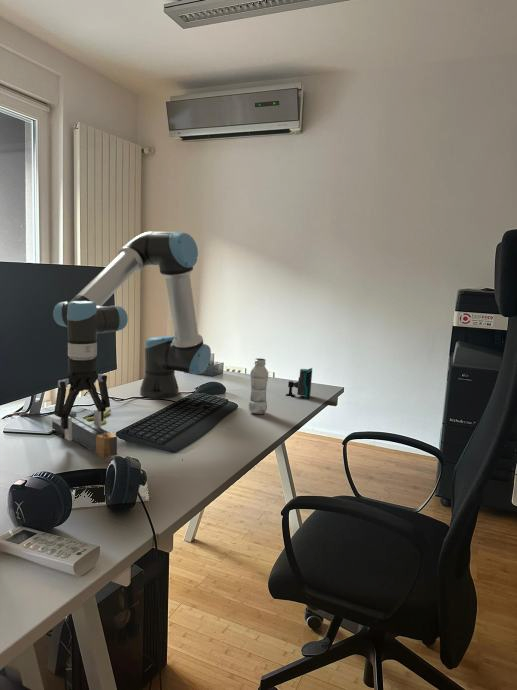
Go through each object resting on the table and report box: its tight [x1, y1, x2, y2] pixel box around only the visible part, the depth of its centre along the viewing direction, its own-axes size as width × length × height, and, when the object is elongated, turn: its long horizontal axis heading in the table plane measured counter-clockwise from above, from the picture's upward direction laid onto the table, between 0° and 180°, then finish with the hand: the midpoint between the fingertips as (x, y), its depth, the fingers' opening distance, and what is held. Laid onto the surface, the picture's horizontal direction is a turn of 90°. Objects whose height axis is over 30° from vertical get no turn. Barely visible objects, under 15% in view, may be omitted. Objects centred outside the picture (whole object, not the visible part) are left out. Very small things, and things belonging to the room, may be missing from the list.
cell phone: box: [72, 482, 150, 504], centre depth 107 cm, size 9×18×1 cm, turn 108°
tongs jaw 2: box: [74, 416, 118, 457], centre depth 132 cm, size 21×2×5 cm, turn 47°
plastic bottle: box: [248, 357, 270, 415], centre depth 171 cm, size 6×7×20 cm
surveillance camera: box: [285, 367, 313, 399], centre depth 196 cm, size 6×12×10 cm
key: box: [84, 408, 112, 426], centre depth 157 cm, size 7×12×2 cm, turn 8°
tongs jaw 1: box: [72, 418, 111, 459], centre depth 131 cm, size 21×2×5 cm, turn 47°
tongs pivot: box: [51, 410, 78, 439], centre depth 143 cm, size 10×4×7 cm, turn 47°
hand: (83, 435), depth 135 cm, fingers open, 8 cm apart
